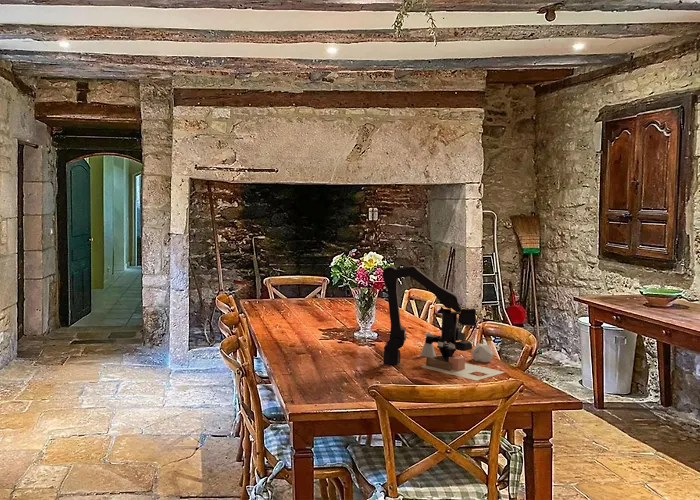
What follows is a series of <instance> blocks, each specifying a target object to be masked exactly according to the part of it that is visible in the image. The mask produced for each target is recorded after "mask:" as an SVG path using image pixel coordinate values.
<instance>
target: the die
mask: <svg viewBox="0 0 700 500" xmlns="http://www.w3.org/2000/svg"><path fill="white" fill-rule="evenodd" d="M470 353H471V356H472V358H473V360H474V362H478V363H490V362H491V360H492V359H493V358H494V357H495V356H494V353H493V351H492V348H491V345H490V344H485V343H477V344H476V345H475V346H474V347H473V348H472V349H471V351H470Z"/></svg>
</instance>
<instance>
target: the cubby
mask: <svg viewBox="0 0 700 500" xmlns="http://www.w3.org/2000/svg"><path fill="white" fill-rule="evenodd" d="M425 360H426V361H425V364H426V365H425V366H431V367H435V368H439V369H443V370H447V371H450V370H451V363H450V362H446V361H444V358H443V356H442V354H441V353H440V354H438V355H437V354H436V356H433V357H426V359H425Z"/></svg>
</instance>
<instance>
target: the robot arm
mask: <svg viewBox="0 0 700 500" xmlns="http://www.w3.org/2000/svg"><path fill="white" fill-rule="evenodd" d="M381 275H382V278H383V282H384V285H385V288H386V292H387V293H386V294H387V299H388V310H389V311H388V312H389V318H390V319H389V321H390V331H389V340H387V342H386V343H385V344H384V347H383V350H384V351H383V362H382V363H381V364H380V366H384V365H387V366H397V365H400V364H401V350H400V349H401V348H402V347H403V346H404V345H405V342H406V340H407V338H408V337H407V333H406V328H407V327H403V326H402V323H401V317H400V316H401V315H400V307H399V297H398V296H399V294H398V284H399V283H398V282H399V279H402V278H409V277H410V278H412V279H413V280H415V281H416V282H417V283H419V284H420V285H421V286H423V287H424V288H425V289H426V290H427V291H429V292H430V293H431V294H433V296H434V297H436V298H437V299H438V301H439V303H441V305H443V306H441V307H440V308H439V309H437V314H441V326H440V327H439V331H441V335H437V334H433V335H430V336H427V337H426V336H425V339H424V344H425V343H427V344H433V343H437V346H436V348H437V349H438V350H439V352H440V355H441V354H442V356H443V358H444V361H446V362H449V357H451V356H454V354H455V352H456V351H460V352H465V351H470V350H471V351H472V350H473V344H472V342H471V341H467V340H465V338H466V335H467V334H466V333H464V332H462V331H459V330H460V328H459V327H457V325H458V324H460V326H463V327H477V315H476V314H477V313H476V312H477V310H476V308H473V307H472V308H465V307H464V308H463V307H462V305H460V303H459V302H458V296H457V294H456V293H454V292H452V291H451V290H449V289H447V288H445V287H443V286H440V285H439V284H438V283H436V282H435V281H434V280H433V279H431V278H430V277H429V276H428V275H426V274H425V273H423V272H422V271H420V269H419V268H417V267H416V265H409V266H399V267H396V266H394V265H388V266H386V268H384V269H383V271H382V273H381ZM452 310H453V311H452ZM457 318H458V319H457ZM457 320H458V321H457ZM457 322H458V323H457Z"/></svg>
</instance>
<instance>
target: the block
mask: <svg viewBox="0 0 700 500" xmlns="http://www.w3.org/2000/svg"><path fill="white" fill-rule="evenodd" d="M449 362H450V363H451V369H452V370H457V371H459V370H463V369H465V363H466V357H465V356H460V355H453V356H451V357H449Z"/></svg>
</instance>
